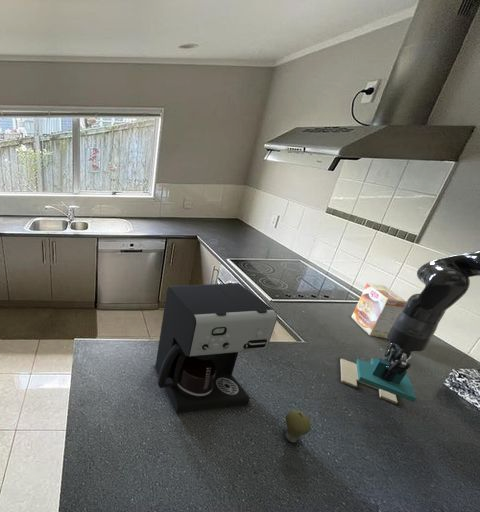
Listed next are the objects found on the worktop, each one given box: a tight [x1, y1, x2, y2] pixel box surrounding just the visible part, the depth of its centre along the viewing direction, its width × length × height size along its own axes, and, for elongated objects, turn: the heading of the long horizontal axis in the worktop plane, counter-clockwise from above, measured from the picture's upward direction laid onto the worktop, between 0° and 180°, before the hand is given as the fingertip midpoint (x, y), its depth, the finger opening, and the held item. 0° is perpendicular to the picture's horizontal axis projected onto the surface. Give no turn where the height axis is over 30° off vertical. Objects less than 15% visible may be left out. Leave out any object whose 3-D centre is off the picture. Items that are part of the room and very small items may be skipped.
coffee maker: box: [154, 282, 278, 414], centre depth 87 cm, size 28×20×35 cm
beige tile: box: [339, 358, 399, 405], centre depth 99 cm, size 14×14×2 cm
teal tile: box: [355, 357, 417, 403], centre depth 86 cm, size 12×14×6 cm
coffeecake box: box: [351, 282, 407, 339], centre depth 126 cm, size 15×7×20 cm, turn 164°
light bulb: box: [285, 409, 312, 443], centre depth 76 cm, size 6×6×10 cm
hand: (385, 376), depth 85 cm, fingers closed on teal tile, 2 cm apart
